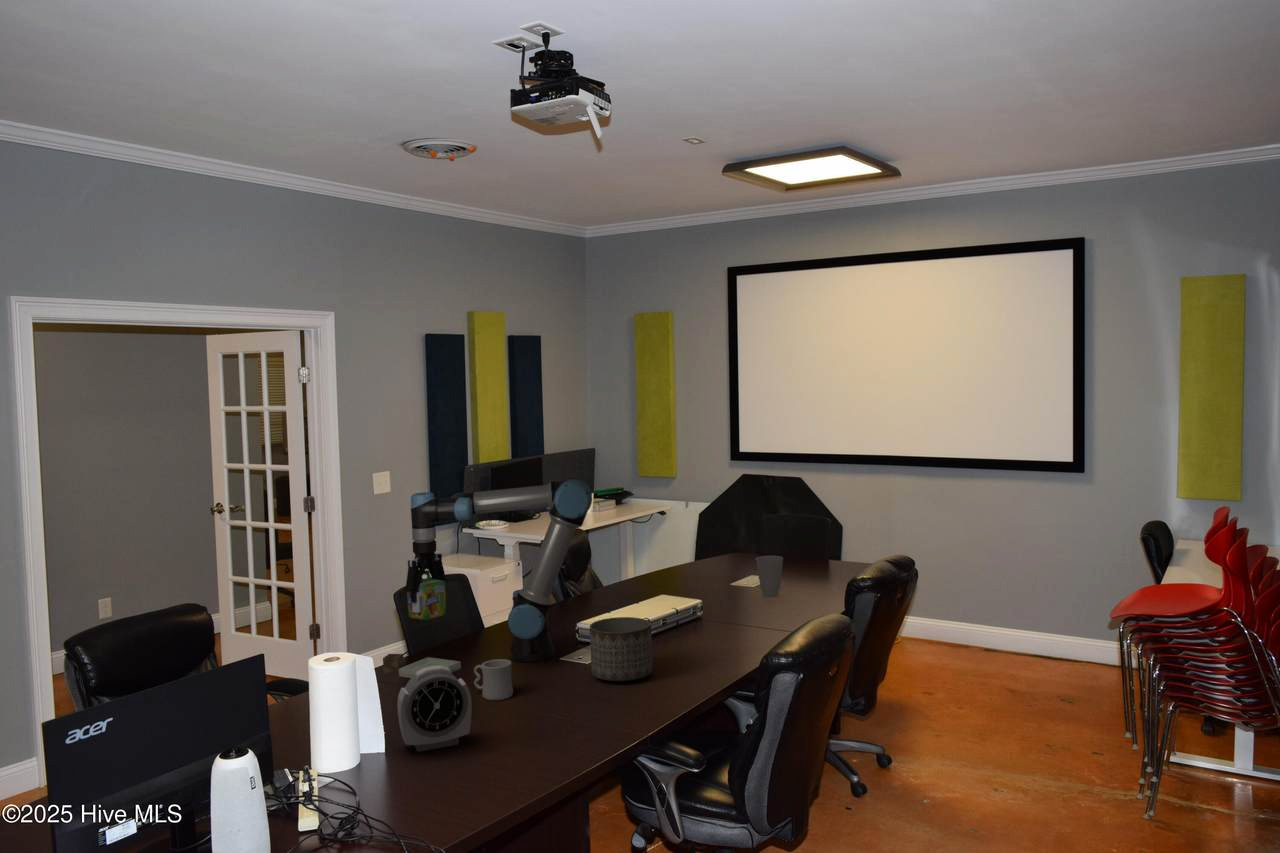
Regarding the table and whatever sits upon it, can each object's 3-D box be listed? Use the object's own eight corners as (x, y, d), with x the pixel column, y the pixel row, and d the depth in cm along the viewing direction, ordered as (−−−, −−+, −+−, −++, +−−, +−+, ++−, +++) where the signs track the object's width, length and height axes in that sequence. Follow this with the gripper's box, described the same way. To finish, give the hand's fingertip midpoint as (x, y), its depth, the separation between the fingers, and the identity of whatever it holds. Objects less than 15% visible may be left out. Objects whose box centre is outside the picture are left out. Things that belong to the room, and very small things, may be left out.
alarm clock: (403, 757, 231) (399, 677, 230) (398, 745, 238) (394, 668, 238) (474, 743, 238) (471, 666, 237) (467, 733, 245) (463, 658, 245)
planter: (662, 670, 294) (660, 619, 294) (637, 688, 277) (635, 634, 276) (608, 664, 303) (607, 615, 302) (580, 682, 285) (578, 629, 284)
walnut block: (404, 668, 307) (403, 653, 307) (397, 673, 302) (397, 658, 302) (389, 668, 307) (389, 653, 307) (383, 673, 303) (382, 658, 302)
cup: (756, 597, 391) (754, 560, 391) (757, 591, 403) (756, 555, 402) (784, 597, 389) (783, 560, 389) (784, 591, 401) (783, 555, 400)
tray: (460, 668, 304) (460, 661, 304) (432, 681, 292) (432, 673, 292) (428, 664, 311) (427, 657, 310) (399, 676, 298) (398, 668, 298)
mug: (518, 692, 278) (517, 659, 277) (504, 702, 269) (503, 668, 269) (482, 689, 282) (480, 657, 281) (467, 699, 273) (465, 666, 273)
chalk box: (426, 621, 294) (423, 575, 293) (407, 618, 299) (404, 572, 299) (447, 614, 302) (445, 570, 301) (429, 611, 307) (426, 567, 306)
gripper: (438, 534, 311) (440, 600, 312) (391, 545, 292) (394, 615, 292) (455, 535, 307) (458, 601, 308) (409, 546, 288) (412, 617, 289)
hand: (427, 608), depth 300 cm, fingers closed on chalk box, 9 cm apart
